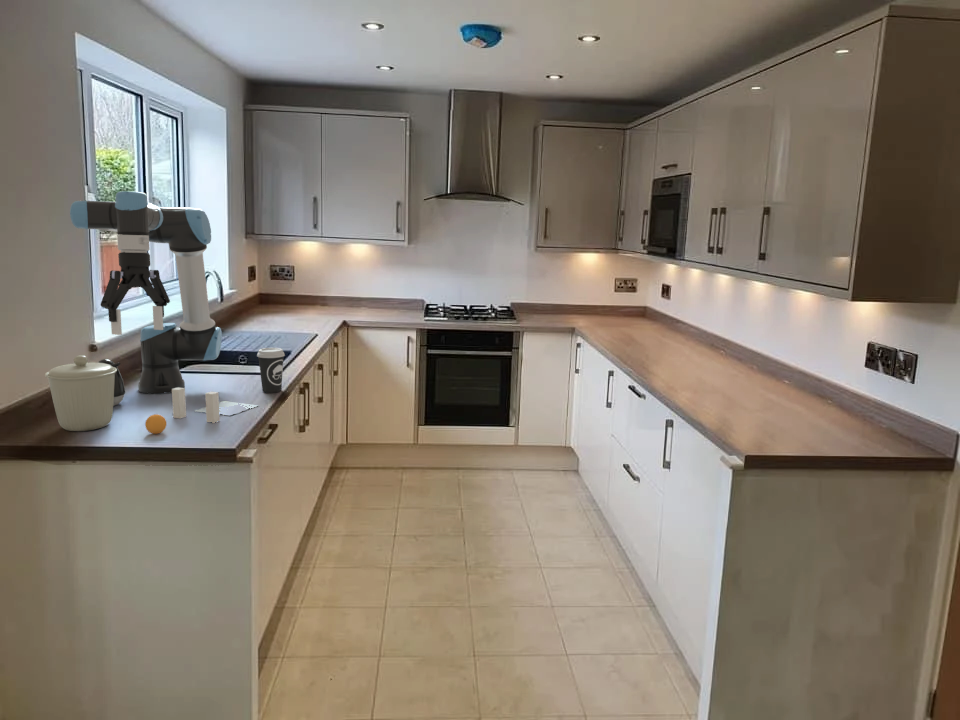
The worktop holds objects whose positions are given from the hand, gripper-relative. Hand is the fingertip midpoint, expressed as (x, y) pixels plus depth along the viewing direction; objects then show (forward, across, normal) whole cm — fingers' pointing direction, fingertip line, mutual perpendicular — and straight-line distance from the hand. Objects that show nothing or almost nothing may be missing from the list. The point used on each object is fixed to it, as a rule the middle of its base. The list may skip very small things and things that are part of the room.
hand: (138, 332), depth 191 cm
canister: (+30, +3, +26) cm, 39 cm away
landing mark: (+29, +37, +4) cm, 47 cm away
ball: (+27, +7, +3) cm, 28 cm away
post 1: (+29, +23, +10) cm, 38 cm away
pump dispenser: (+28, +23, +41) cm, 55 cm away
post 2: (+29, +23, -3) cm, 37 cm away
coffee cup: (+28, +63, +7) cm, 69 cm away
